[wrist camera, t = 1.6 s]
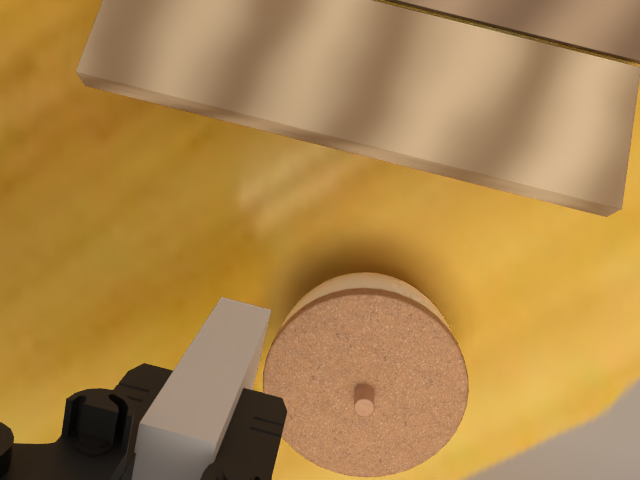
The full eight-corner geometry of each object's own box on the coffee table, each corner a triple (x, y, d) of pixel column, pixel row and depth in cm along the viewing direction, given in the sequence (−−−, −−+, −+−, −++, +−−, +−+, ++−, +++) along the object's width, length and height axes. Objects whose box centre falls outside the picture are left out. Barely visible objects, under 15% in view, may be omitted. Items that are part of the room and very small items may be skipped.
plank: (85, 85, 32) (75, 71, 31) (132, -43, 34) (126, -62, 32) (606, 216, 32) (621, 209, 30) (625, 81, 34) (640, 67, 32)
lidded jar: (326, 220, 37) (312, 269, 28) (481, 295, 38) (516, 367, 29) (255, 360, 40) (223, 445, 31) (400, 428, 41) (409, 531, 32)
